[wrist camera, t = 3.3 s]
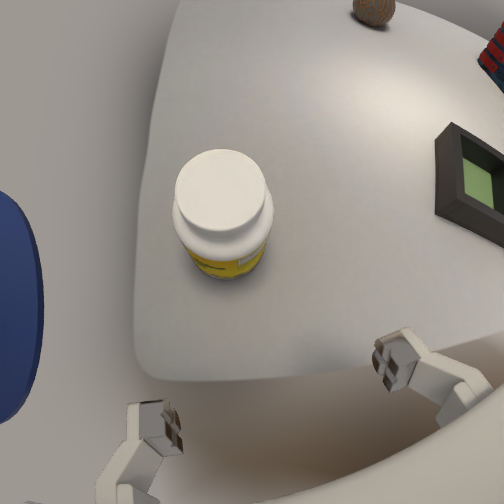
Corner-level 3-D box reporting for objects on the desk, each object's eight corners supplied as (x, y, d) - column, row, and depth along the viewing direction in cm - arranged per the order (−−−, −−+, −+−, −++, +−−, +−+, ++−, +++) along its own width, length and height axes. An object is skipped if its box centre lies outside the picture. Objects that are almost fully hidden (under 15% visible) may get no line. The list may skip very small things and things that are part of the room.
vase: (372, 34, 35) (388, -7, 27) (340, 12, 36) (352, -28, 28) (394, 29, 36) (411, -8, 28) (365, 8, 38) (377, -27, 29)
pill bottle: (175, 243, 26) (136, 185, 15) (229, 197, 27) (224, 118, 16) (224, 297, 25) (214, 272, 14) (279, 246, 26) (306, 189, 15)
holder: (434, 213, 27) (456, 198, 24) (434, 139, 30) (451, 121, 26) (533, 265, 27) (554, 257, 23) (529, 198, 29) (546, 188, 25)
